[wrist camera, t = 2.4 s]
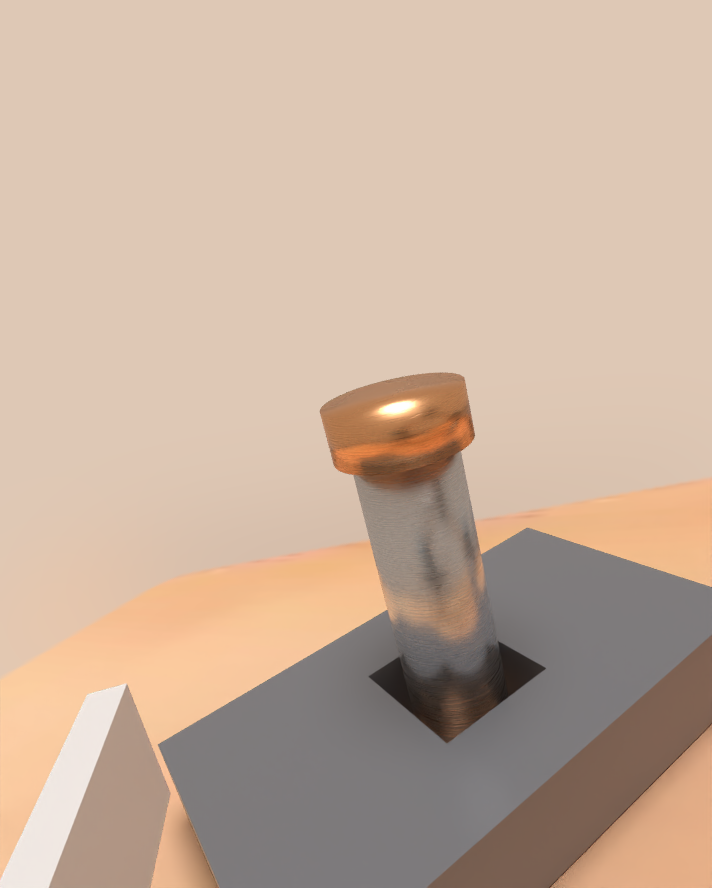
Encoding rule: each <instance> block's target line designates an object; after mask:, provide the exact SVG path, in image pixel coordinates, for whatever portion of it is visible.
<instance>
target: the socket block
mask: <svg viewBox="0 0 712 888" xmlns="http://www.w3.org/2000/svg"><path fill="white" fill-rule="evenodd" d="M481 557H482V563H483V568H484V573H485V578H486V583H487V588H488V593H489V598H490V604H491V609H492V614H493V619H494V624H495V629H496V634H497V639H498V645H499V650H500V655H501V660H502V665H503V670H504V675H505V680H506V686H507V691H508V696H509V697H508V698H507V699H505V700H504V701H503V702H501V703H500V704H499V705H497V706H496V707H495V708H493V709H492V710H491V711H490V712H488V713H487V714H486V715H484V716H483V717H482V718H480V719H479V720H478V721H476V722H475V723H474V724H472V725H471V726H470V727H468V728H467V729H466V730H464V731H463V732H462V733H461V734H459V735H458V736H457V737H455V738H454V739H453V740H451V741H450V742H449V743H446V742H445V741H443V740H442V739H441V738H440V737H439V736H437V735H436V734H435V733H434V732H433V731H432V730H430V729H429V728H428V727H427V726H426V725H425V724H423V723H422V722H421V721H420V720H419V719H418V718H416V717H415V716H414V712H413V708H412V704H411V700H410V696H409V692H408V689H407V685H406V681H405V677H404V673H403V669H402V665H401V661H400V657H399V653H398V649H397V645H396V641H395V637H394V633H393V629H392V625H391V621H390V617H389V613H388V610H386V611H385V612H383V613H381V614H379V615H378V616H376V617H374V618H373V619H371V620H369V621H368V622H366V623H364V624H362V625H361V626H359V627H357V628H356V629H354V630H352V631H350V632H349V633H347V634H345V635H344V636H342V637H340V638H339V639H337V640H335V641H333V642H332V643H330V644H328V645H327V646H325V647H323V648H322V649H320V650H318V651H316V652H315V653H313V654H311V655H310V656H308V657H306V658H305V659H303V660H301V661H299V662H298V663H296V664H294V665H293V666H291V667H289V668H288V669H286V670H284V671H282V672H281V673H279V674H277V675H276V676H274V677H272V678H270V679H269V680H267V681H265V682H264V683H262V684H260V685H259V686H257V687H255V688H253V689H252V690H250V691H248V692H247V693H245V694H243V695H242V696H240V697H238V698H236V699H235V700H233V701H231V702H230V703H228V704H226V705H225V706H223V707H221V708H219V709H218V710H216V711H214V712H213V713H211V714H209V715H208V716H206V717H204V718H202V719H201V720H199V721H197V722H196V723H194V724H192V725H190V726H189V727H187V728H185V729H184V730H182V731H180V732H179V733H177V734H175V735H173V736H172V737H170V738H168V739H167V740H165V741H163V742H162V743H160V744H158V746H159V748H160V751H161V753H162V756H163V758H164V761H165V763H166V765H167V768H168V770H169V773H170V775H171V777H172V780H173V782H174V785H175V787H176V790H177V792H178V794H179V797H180V799H181V802H182V804H183V807H184V809H185V811H186V814H187V816H188V819H189V821H190V823H191V826H192V828H193V830H194V833H195V835H196V837H197V840H198V842H199V844H200V847H201V849H202V851H203V854H204V856H205V858H206V861H207V863H208V865H209V868H210V870H211V872H212V875H213V877H214V879H215V882H216V884H217V886H218V888H549V887H550V886H551V885H552V884H553V883H554V882H555V881H556V880H557V879H558V878H559V877H560V876H561V875H562V874H563V873H564V872H565V871H566V870H567V869H568V868H569V867H570V866H571V865H572V864H573V863H574V862H575V861H576V860H577V859H578V858H579V857H580V856H581V855H582V854H583V853H584V852H585V851H586V850H587V849H588V848H589V847H590V846H591V845H592V844H593V843H594V842H595V841H596V840H597V839H598V838H599V837H600V836H601V835H602V834H603V833H604V832H605V831H606V830H607V829H608V828H609V827H610V826H611V825H612V824H613V823H614V822H615V820H616V819H617V818H618V817H619V816H620V815H621V814H622V813H623V812H624V811H625V810H626V809H627V808H628V807H629V806H630V805H631V804H632V803H633V802H634V801H635V800H636V799H637V798H638V797H639V796H640V795H641V794H642V793H643V792H644V791H645V790H646V789H647V788H648V787H649V786H650V785H651V784H652V783H653V782H654V781H655V780H656V779H657V778H658V777H659V776H660V775H661V774H662V773H663V772H664V771H665V770H666V769H667V768H668V767H669V766H670V765H671V764H672V763H673V762H674V761H675V760H676V759H677V758H678V757H679V756H680V755H681V754H682V753H683V752H684V751H685V750H686V749H687V748H688V747H689V746H690V745H691V744H692V743H693V742H694V741H695V740H696V739H697V738H698V737H699V736H700V735H701V734H702V733H703V732H704V731H705V730H706V729H707V728H708V727H709V726H710V725H711V724H712V587H709V586H706V585H703V584H700V583H697V582H694V581H691V580H688V579H684V578H681V577H678V576H675V575H672V574H669V573H666V572H663V571H660V570H657V569H654V568H651V567H647V566H644V565H641V564H638V563H635V562H632V561H629V560H626V559H623V558H620V557H617V556H613V555H610V554H607V553H604V552H601V551H598V550H595V549H592V548H589V547H586V546H583V545H580V544H576V543H573V542H570V541H567V540H564V539H561V538H558V537H555V536H552V535H549V534H546V533H542V532H539V531H536V530H533V529H530V528H526V529H524V530H522V531H521V532H519V533H517V534H516V535H514V536H512V537H511V538H509V539H507V540H505V541H504V542H502V543H500V544H499V545H497V546H495V547H493V548H492V549H490V550H488V551H487V552H485V553H483V554H482V555H481Z"/></svg>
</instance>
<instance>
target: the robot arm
mask: <svg viewBox="0 0 712 888" xmlns="http://www.w3.org/2000/svg"><path fill="white" fill-rule="evenodd" d="M169 798H170V791H169V788H168V786H167V783H166V781H165V778H164V776H163V773H162V771H161V768H160V766H159V763H158V761H157V758H156V756H155V753H154V751H153V748H152V746H151V743H150V741H149V738H148V735H147V733H146V730H145V728H144V725H143V723H142V720H141V718H140V715H139V713H138V710H137V708H136V705H135V703H134V700H133V698H132V695H131V693H130V690H129V688H128V685H127V684H123V685H119V686H116V687H112V688H108V689H105V690H101V691H97V692H93V693H90V694H87V696H86V698H85V701H84V703H83V705H82V707H81V709H80V711H79V713H78V715H77V718H76V720H75V722H74V724H73V726H72V728H71V730H70V733H69V735H68V737H67V739H66V741H65V743H64V745H63V747H62V750H61V752H60V754H59V756H58V758H57V760H56V762H55V764H54V767H53V769H52V771H51V773H50V775H49V777H48V779H47V781H46V784H45V786H44V788H43V790H42V792H41V794H40V796H39V799H38V801H37V803H36V805H35V807H34V809H33V811H32V813H31V816H30V818H29V820H28V822H27V824H26V826H25V828H24V830H23V833H22V835H21V837H20V839H19V841H18V843H17V845H16V847H15V850H14V852H13V854H12V856H11V858H10V860H9V862H8V865H7V867H6V869H5V871H4V873H3V875H2V877H1V879H0V888H150V886H151V882H152V877H153V872H154V868H155V863H156V858H157V854H158V849H159V844H160V840H161V835H162V830H163V826H164V821H165V817H166V812H167V807H168V803H169Z"/></svg>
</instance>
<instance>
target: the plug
mask: <svg viewBox="0 0 712 888" xmlns="http://www.w3.org/2000/svg"><path fill="white" fill-rule="evenodd" d="M320 414H321V418H322V422H323V425H324V429H325V433H326V437H327V441H328V445H329V448H330V452H331V456H332V460H333V464H334V466H335V468H336V469H337V470H339V471H341V472H343V473H347V474H352V475H354V479H355V483H356V487H357V491H358V495H359V499H360V503H361V507H362V511H363V515H364V518H365V523H366V527H367V530H368V534H369V538H370V542H371V546H372V550H373V554H374V558H375V562H376V566H377V570H378V574H379V578H380V582H381V586H382V590H383V594H384V598H385V602H386V606H387V610H388V613H389V617H390V621H391V625H392V629H393V633H394V637H395V641H396V645H397V649H398V653H399V657H400V661H401V665H402V669H403V673H404V677H405V681H406V685H407V689H408V692H409V696H410V700H411V704H412V708H413V712H414V716H415V717H416V718H418V719H419V720H420V721H421V722H422V723H423V724H425V725H426V726H427V727H428V728H429V729H430V730H432V731H433V732H434V733H435V734H436V735H437V736H439V737H440V738H441V739H442V740H443V741H445V742H446V743H449V742H450V741H451V740H453V739H454V738H455V737H457V736H458V735H459V734H461V733H462V732H463V731H464V730H466V729H467V728H468V727H470V726H471V725H472V724H474V723H475V722H476V721H478V720H479V719H480V718H482V717H483V716H484V715H486V714H487V713H488V712H490V711H491V710H492V709H493V708H495V707H496V706H497V705H499V704H500V703H501V702H503V701H504V700H505V699H507V698H508V697H509V696H508V691H507V686H506V680H505V675H504V670H503V665H502V660H501V655H500V650H499V645H498V639H497V634H496V629H495V624H494V619H493V614H492V609H491V604H490V598H489V593H488V588H487V583H486V578H485V573H484V568H483V563H482V557H481V552H480V547H479V542H478V537H477V532H476V527H475V522H474V517H473V512H472V506H471V501H470V496H469V491H468V486H467V481H466V475H465V471H464V465H463V460H462V455H461V451H462V450H463V449H464V448H466V447H467V446H468V445H469V444H470V443H471V442H472V441H473V439H474V436H475V433H474V427H473V422H472V416H471V411H470V405H469V400H468V395H467V389H466V384H465V380H464V377H462V376H461V375H458V374H454V373H427V374H418V375H411V376H405V377H400V378H395V379H390V380H386V381H382V382H378V383H374V384H371V385H368V386H364V387H361V388H358V389H355V390H352V391H350V392H347V393H345V394H343V395H340V396H338V397H336V398H334V399H333V400H330V401H329V402H327V403H326V404H325V405H324V406H322V408H321V409H320Z"/></svg>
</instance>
